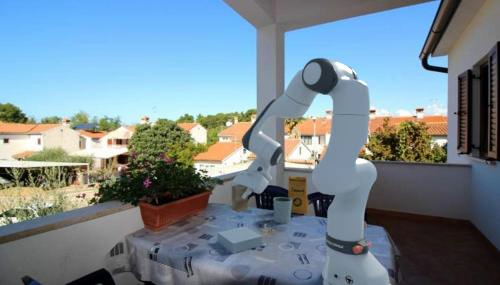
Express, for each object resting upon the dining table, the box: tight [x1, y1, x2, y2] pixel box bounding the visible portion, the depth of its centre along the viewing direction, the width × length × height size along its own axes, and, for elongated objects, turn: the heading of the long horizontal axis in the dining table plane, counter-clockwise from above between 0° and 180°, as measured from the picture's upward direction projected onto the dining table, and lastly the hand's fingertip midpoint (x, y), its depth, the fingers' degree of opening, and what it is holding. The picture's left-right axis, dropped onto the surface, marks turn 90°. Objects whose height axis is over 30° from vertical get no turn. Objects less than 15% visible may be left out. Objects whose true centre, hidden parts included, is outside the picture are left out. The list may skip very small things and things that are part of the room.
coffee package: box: [287, 175, 309, 215], centre depth 158 cm, size 10×12×22 cm
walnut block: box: [231, 185, 249, 213], centre depth 112 cm, size 5×5×10 cm
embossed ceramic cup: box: [272, 196, 292, 225], centre depth 142 cm, size 10×10×12 cm
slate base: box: [217, 226, 263, 254], centre depth 112 cm, size 14×14×4 cm
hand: (238, 196), depth 111 cm, fingers closed on walnut block, 5 cm apart
